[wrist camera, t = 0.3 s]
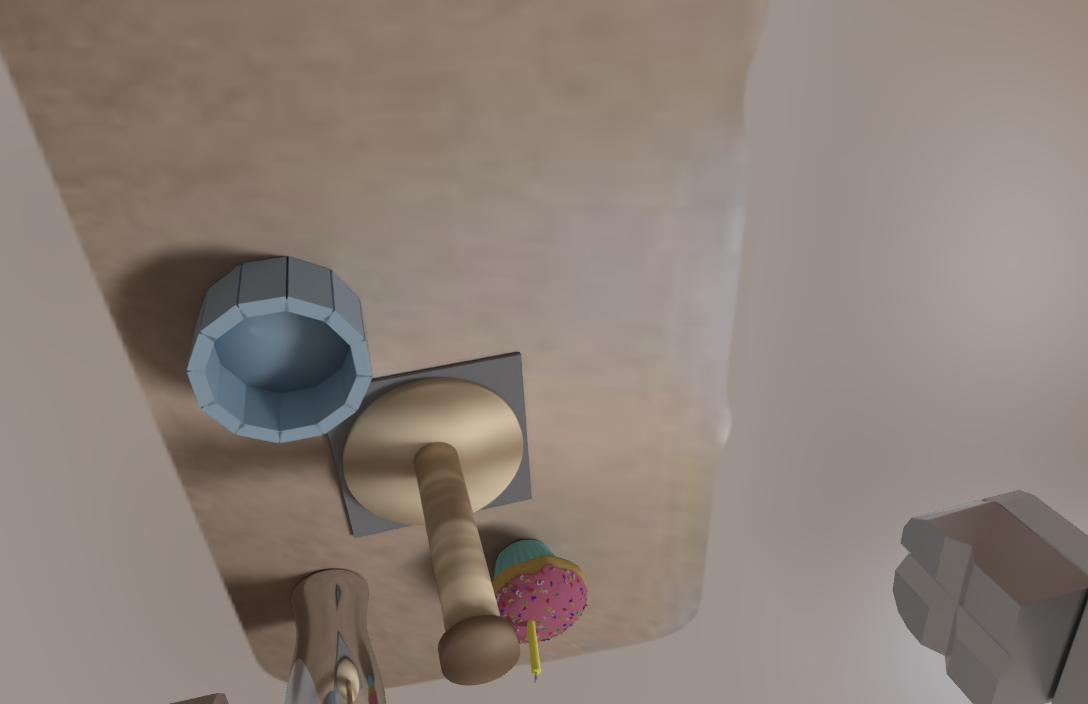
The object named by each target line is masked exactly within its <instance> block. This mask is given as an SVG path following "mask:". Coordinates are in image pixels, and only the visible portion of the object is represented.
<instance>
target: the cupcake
mask: <svg viewBox="0 0 1088 704" xmlns="http://www.w3.org/2000/svg"><path fill="white" fill-rule="evenodd" d="M491 583H492V587H493V590H494V594H495V598H496V602H497V606H498V609H499V613H500V617H503V618H505V619H507V620H509V621H510V622H511V623H512V625H513V626H514V628H515V632H516V635H517V639H518V643H520V644H521V643H529V650H530V659H531V668H532V674H534V675H535V683H536V682H537V680H538V678H537V675H538V674H540V672H541V669H540V660H539V652H538V644H537V642H539V641H545V640H550V638H554V637H555V636H557V635H559V634H562V633H563V632H564V631H567V629H568V628H569V627H571V626H572V625H573V624H574V623H575V621H577V620H578V619H579V617H580V616H581V615H582V612H583V610H584V608H585V606H587V605H585V604H586V600H587V594H588V593H587V588H586V581H585V576H584V573H583V571H582V570H581V569H580V568H579V567H578V566H577V565H576V564H574V563H572V562H571V561H568V560H565V559H562V558H558V557H556V556H555V555H554V554H553V553H552V552H551V551H550V549H549V548H548V547H547V546H546V545H545V544H544V543H542V542H540V541H537V540H530V539H529V540H521V541H517V542H515V543H512V544H511V545H509V546H507V547H506V548H505V549H503V550H502V551H501V553H500V554H499V555H498V557H497V559H496V563H495V575H494V580H493V581H492V582H491Z"/></svg>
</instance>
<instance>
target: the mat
mask: <svg viewBox="0 0 1088 704" xmlns="http://www.w3.org/2000/svg"><path fill="white" fill-rule="evenodd" d="M434 377H452V378H461V379H466V380H470V381H473V382H476V383H479V384H482V385H484V386H486V387H488V388H490V389H492V390H493V391H495V392H496V393H498V394H499V395H500V396H501V397H502V398H503V399H504V400H505V401H506V402H507V403H508V404H509V406H510V407H511V408H512V410H513V412H514V413H515V415H516V418H517V420H518V423H519V426H520V429H521V431H522V436H523V454H522V460H521V463H520V466H519V468H518V470H517V472H516V474H515V476H514V478H513V479H512V481H511V482H510V484H509V485H508V486H507V487H506V489H505V490H504V491H503V492H502V493H501V494H500V495H499V496H498V497H497V498H496V499H494V500H493V501H492V502H490V503H489V504H488V505H486V506H485V507H483V508H481V509H480V510H483V509H487V508H492V507H496V506H501V505H505V504H510V503H514V502H519V501H523V500H528V499H532V497H531V484H530V470H529V457H528V443H527V430H526V416H525V403H524V389H523V376H522V362H521V354H520V352H519V353H513V354H508V355H502V356H497V357H492V358H486V359H481V360H476V361H470V362H465V363H459V364H454V365H449V366H443V367H438V368H432V369H427V370H422V371H416V372H411V373H406V374H400V375H395V376H389V377H384V378H379V379H373V380H371V382H370V384H369V386H368V389H367V391H366V393H365V395H364V397H363V400H362V402H361V404H360V406H359V409H358V410H357V409H356V412H355V413H354V414H352V415H351V416H349V417H348V418H347V419H345V420H344V421H342V422H341V423H340V424H338V425H337V426H335V427H334V428H333V429H331V430H330V431H328V432H327V434H328V437H329V441H330V445H331V449H332V453H333V457H334V460H335V464H336V468H337V472H338V476H339V480H340V483H341V487H342V491H343V495H344V499H345V503H346V506H347V510H348V514H349V518H350V522H351V526H352V529H353V533H354V537H355V538H357V537H361V536H366V535H370V534H375V533H379V532H384V531H388V530H393V529H397V528H402V527H406V526H411V525H408V524H401V523H396V522H392V521H389V520H386V519H383V518H381V517H379V516H377V515H375V514H373V513H372V512H370V511H369V510H367V509H366V508H364V507H363V506H362V505H361V504H360V503H359V502H358V501H357V500H356V499H355V497H354V496H353V495H352V493H351V491H350V490H349V488H348V486H347V483H346V480H345V476H344V470H343V447H344V442H345V439H346V436H347V433H348V431H349V429H350V427H351V425H352V424H353V422H354V421H355V419H356V418H357V417H358V415H359V414H360V413H361V412H362V411H363V410H364V409H365V408H366V407H367V406H368V405H369V404H370V403H371V402H373V401H374V400H375V399H376V398H378V397H379V396H381V395H383V394H384V393H386V392H388V391H390V390H392V389H394V388H396V387H398V386H400V385H403V384H406V383H409V382H412V381H416V380H421V379H427V378H434Z"/></svg>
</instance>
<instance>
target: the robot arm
mask: <svg viewBox="0 0 1088 704" xmlns="http://www.w3.org/2000/svg"><path fill="white" fill-rule="evenodd" d="M901 544H902V545H903V547H904V548H905V549H906V550H907V552H908V553H909V554H908V555H907V556H906V557H905V559H904V560H903V561H902V563H901V564H900V565H899V566H898V567H897V569H896V570H895V577H894V585H893V593H894V597H895V600H896V605H897V608H898V612H899V614H900V615H901V617H902V619H903V621H904V623H905V624H906V626H907V628H908V629H909V630H910V632H911V633H912V634H913V635H914V636H915V637H916V639H917V640H918V641H919V642H920V643H921V645H924V646H926V647H928V648H930V649H932V650H934V651H936V652H938V653H940V654H943V655H945V661H946V671H947V674H948V676H949V677H950V678H951V679H952V680H953V681H954V683H955V684H956V685H957V686H958V687H959V688H960V689H961V690H962V692H963V693H964V694H965V695H966V696H967V697H968V698H969V700H970V701H971V702H972V703H973V704H1045V703H1049V702H1052V704H1088V535H1086V534H1085V533H1084V532H1082V531H1081V530H1080V529H1078V528H1077V527H1076V526H1074V525H1073V524H1072V523H1071V522H1069V521H1068V520H1067V519H1065V518H1064V517H1063V516H1061V515H1060V514H1059V513H1057V512H1056V511H1054V510H1053V509H1052V508H1051V507H1049V506H1048V505H1047V504H1045V503H1044V502H1043V501H1041V500H1040V499H1039V498H1037V497H1036V496H1034V495H1032V494H1030V493H1027V492H1024V491H1021V490H1017V491H1013V492H1009V493H1005V494H1001V495H997V496H993V497H990V498H986V499H983V500H981V501H973V502H969V503H965V504H962V505H958V506H954V507H950V508H947V509H943V510H939V511H935V512H931V513H927V514H924V515H920V516H916V517H913V518H911V519H910V520H909V521H908V523H907V524H906V525H905V526H904V529H903V534H902V538H901ZM171 704H229V703H228V701H227V698H226V696H225V694H223V693H216V694H211V695H207V696H202V697H198V698H194V699H190V700H185V701H180V702H176V703H171Z"/></svg>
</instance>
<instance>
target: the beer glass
mask: <svg viewBox="0 0 1088 704" xmlns="http://www.w3.org/2000/svg"><path fill="white" fill-rule="evenodd" d="M368 601H369V589H368V585H367V583H366V582H365V580H364V579H363V578H362V577H361V576H359V575H358V574H356V573H354V572H351V571H347V570H341V569H330V570H324V571H320V572H317V573H314V574H312V575H310V576H308V577H306V578H305V579H303V580H302V581H301V582H300V583H298V585H297V586H296V587H295V588H294V590H293V592H292V595H291V608H292V613H293V617H294V621H295V626H296V645H295V650H294V655H293V660H292V664H291V669H290V674H289V679H288V684H287V689H286V696H285V703H284V704H386V698H385V690H384V686H383V682H382V678H381V674H380V670H379V667H378V664H377V661H376V657H375V654H374V651H373V648H372V645H371V642H370V638H369V635H368V630H367V608H368Z"/></svg>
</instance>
